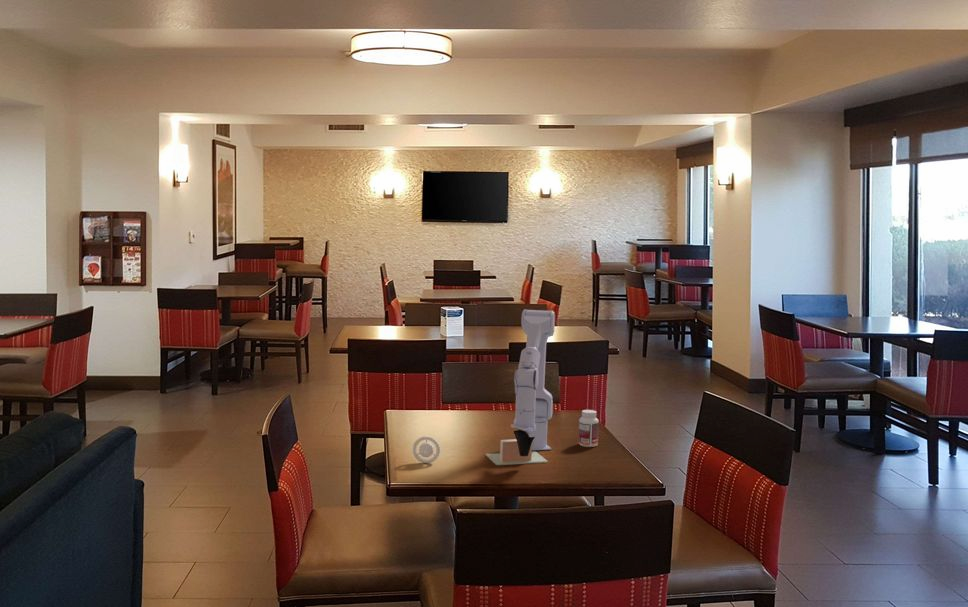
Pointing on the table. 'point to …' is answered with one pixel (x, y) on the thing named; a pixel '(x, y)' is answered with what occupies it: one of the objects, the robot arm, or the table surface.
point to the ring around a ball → (426, 449)
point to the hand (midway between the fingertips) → (523, 455)
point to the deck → (512, 451)
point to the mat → (534, 459)
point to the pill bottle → (588, 429)
